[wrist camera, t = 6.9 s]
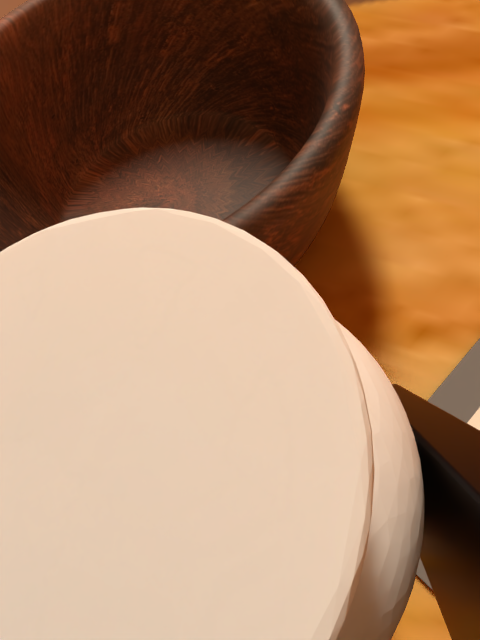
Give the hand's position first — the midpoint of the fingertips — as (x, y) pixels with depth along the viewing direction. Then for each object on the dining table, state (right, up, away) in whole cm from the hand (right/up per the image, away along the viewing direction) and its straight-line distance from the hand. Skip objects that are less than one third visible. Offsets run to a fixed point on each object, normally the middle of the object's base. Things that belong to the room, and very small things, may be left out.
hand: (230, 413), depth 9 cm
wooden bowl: (-4, +10, +21) cm, 24 cm away
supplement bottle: (+1, -4, +6) cm, 7 cm away
